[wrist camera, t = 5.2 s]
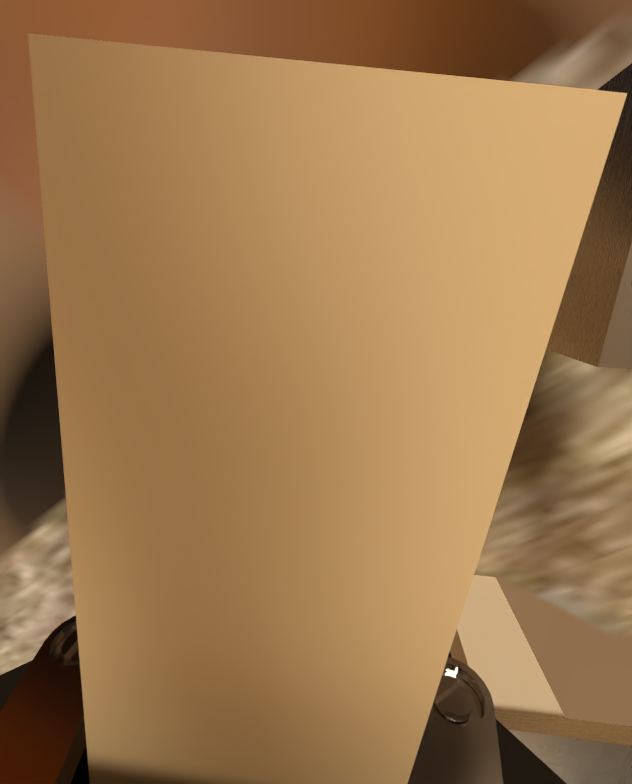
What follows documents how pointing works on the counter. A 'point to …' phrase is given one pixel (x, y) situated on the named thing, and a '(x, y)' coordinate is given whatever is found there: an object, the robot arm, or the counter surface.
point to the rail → (290, 386)
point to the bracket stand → (485, 598)
